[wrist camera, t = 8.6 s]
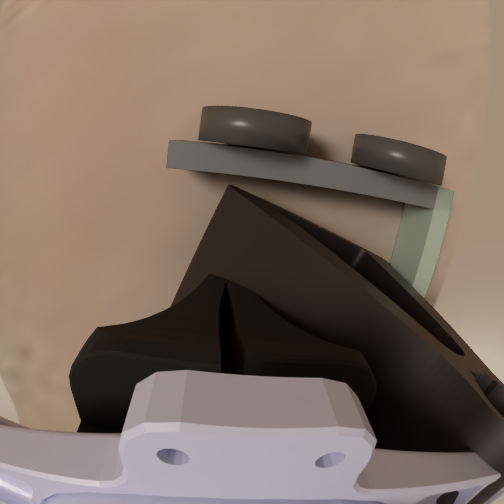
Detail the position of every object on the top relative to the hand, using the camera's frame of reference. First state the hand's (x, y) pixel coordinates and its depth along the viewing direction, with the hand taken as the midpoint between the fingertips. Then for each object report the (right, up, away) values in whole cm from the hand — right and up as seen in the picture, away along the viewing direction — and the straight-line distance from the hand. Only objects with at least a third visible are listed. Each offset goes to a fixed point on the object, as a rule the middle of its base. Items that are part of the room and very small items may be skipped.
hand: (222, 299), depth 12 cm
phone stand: (+3, 0, +3) cm, 4 cm away
